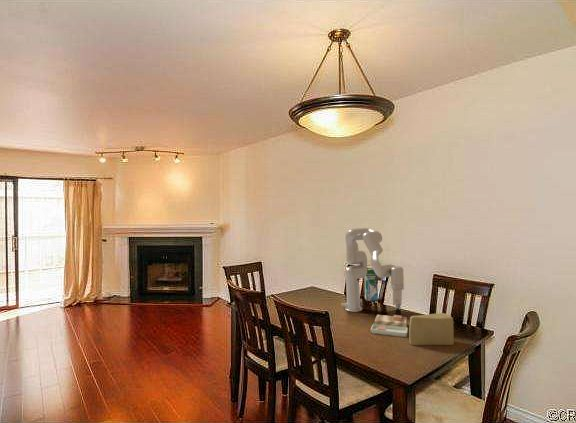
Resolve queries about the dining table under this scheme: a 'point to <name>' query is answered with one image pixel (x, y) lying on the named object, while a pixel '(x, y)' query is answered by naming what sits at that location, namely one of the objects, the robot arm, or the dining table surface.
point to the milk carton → (371, 286)
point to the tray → (390, 330)
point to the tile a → (381, 328)
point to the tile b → (397, 317)
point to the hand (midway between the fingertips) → (398, 315)
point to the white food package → (390, 321)
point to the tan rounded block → (431, 329)
